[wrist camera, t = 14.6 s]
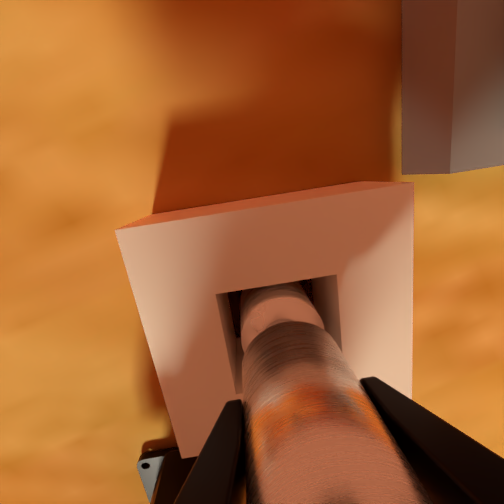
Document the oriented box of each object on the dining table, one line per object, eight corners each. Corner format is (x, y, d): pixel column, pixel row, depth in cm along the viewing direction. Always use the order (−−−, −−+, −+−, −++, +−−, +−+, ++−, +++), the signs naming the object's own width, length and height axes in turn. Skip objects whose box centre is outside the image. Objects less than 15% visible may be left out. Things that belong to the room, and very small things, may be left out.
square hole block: (368, 359, 16) (411, 419, 12) (195, 388, 15) (181, 458, 12) (360, 180, 13) (413, 182, 9) (151, 214, 13) (114, 229, 9)
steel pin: (308, 326, 14) (484, 684, 4) (245, 336, 14) (269, 726, 4) (301, 266, 13) (505, 537, 3) (234, 277, 13) (230, 588, 3)
